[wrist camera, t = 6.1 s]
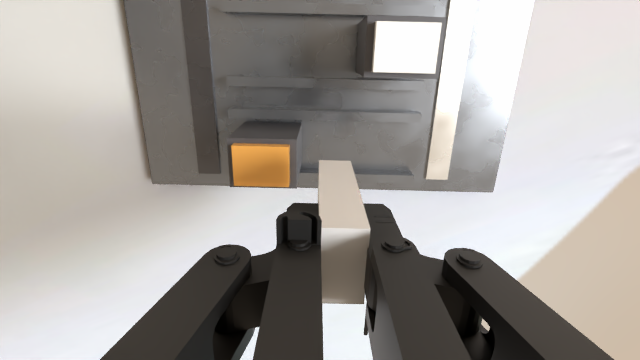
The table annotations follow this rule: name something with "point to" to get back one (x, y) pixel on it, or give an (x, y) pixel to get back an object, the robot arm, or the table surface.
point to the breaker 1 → (265, 155)
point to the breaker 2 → (400, 46)
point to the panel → (325, 88)
